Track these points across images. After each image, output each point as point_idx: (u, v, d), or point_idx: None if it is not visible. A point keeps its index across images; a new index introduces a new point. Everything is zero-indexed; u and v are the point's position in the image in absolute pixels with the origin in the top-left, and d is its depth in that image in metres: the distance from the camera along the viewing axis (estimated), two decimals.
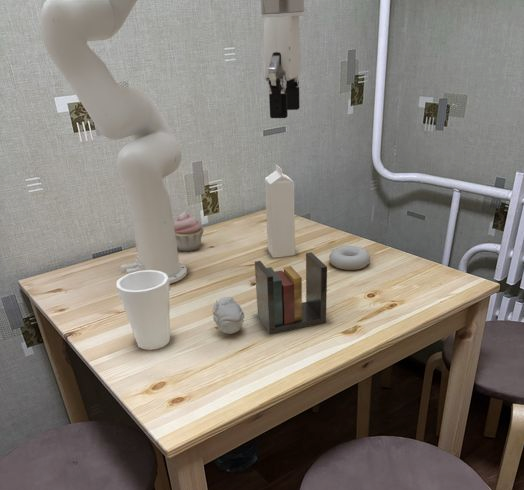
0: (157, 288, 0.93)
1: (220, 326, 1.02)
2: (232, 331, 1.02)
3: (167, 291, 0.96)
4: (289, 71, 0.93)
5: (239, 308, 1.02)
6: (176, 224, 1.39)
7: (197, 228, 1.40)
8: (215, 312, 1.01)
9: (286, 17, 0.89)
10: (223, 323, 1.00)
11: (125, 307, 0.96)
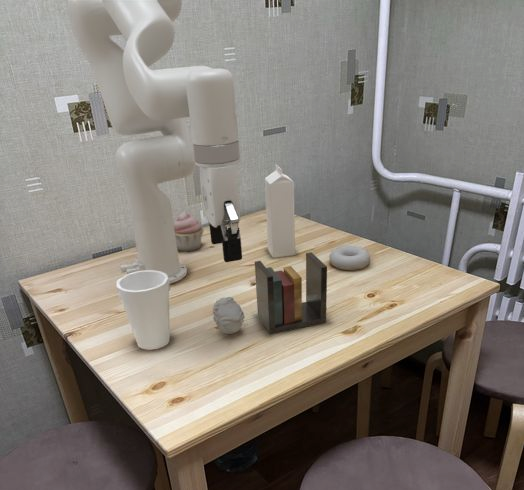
0: (157, 288, 0.93)
1: (220, 326, 1.02)
2: (232, 331, 1.02)
3: (167, 291, 0.96)
4: None
5: (239, 308, 1.02)
6: (176, 224, 1.39)
7: (197, 228, 1.40)
8: (215, 312, 1.01)
9: (233, 166, 0.85)
10: (223, 323, 1.00)
11: (125, 307, 0.96)
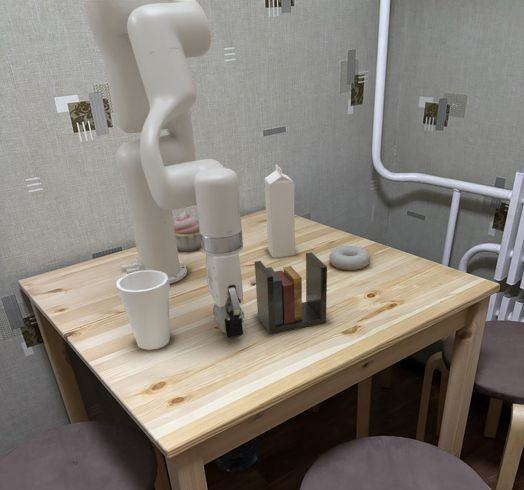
0: (157, 288, 0.93)
1: (220, 326, 1.02)
2: None
3: (167, 291, 0.96)
4: (242, 296, 0.97)
5: None
6: (176, 224, 1.39)
7: (197, 228, 1.40)
8: (215, 312, 1.01)
9: (237, 255, 0.93)
10: (223, 323, 1.00)
11: (125, 307, 0.96)
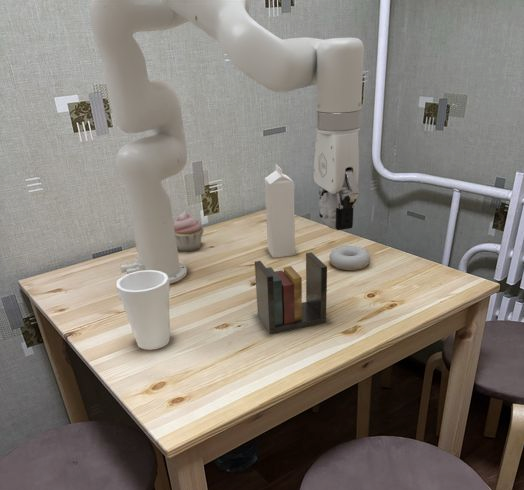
0: (157, 288, 0.93)
1: (328, 219, 0.97)
2: None
3: (167, 291, 0.96)
4: (357, 183, 0.92)
5: None
6: (176, 224, 1.39)
7: (197, 228, 1.40)
8: (323, 204, 0.97)
9: (356, 134, 0.88)
10: (333, 215, 0.96)
11: (125, 307, 0.96)
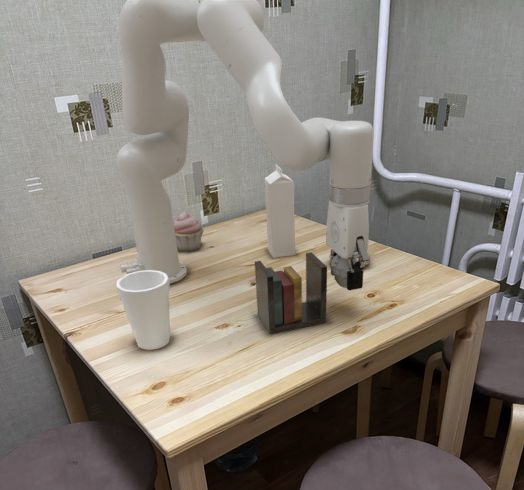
0: (157, 288, 0.93)
1: (339, 280, 1.05)
2: None
3: (167, 291, 0.96)
4: (367, 249, 1.00)
5: None
6: (176, 224, 1.39)
7: (197, 228, 1.40)
8: (335, 266, 1.04)
9: (367, 206, 0.95)
10: (344, 276, 1.03)
11: (125, 307, 0.96)
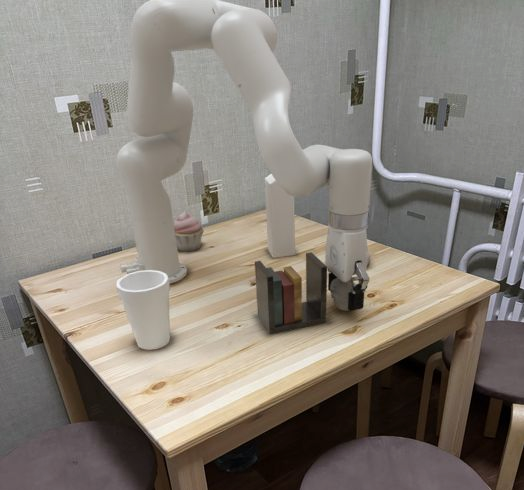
0: (157, 288, 0.93)
1: (338, 303, 1.07)
2: None
3: (167, 291, 0.96)
4: None
5: None
6: (176, 224, 1.39)
7: (197, 228, 1.40)
8: (334, 290, 1.07)
9: (365, 232, 0.98)
10: (343, 300, 1.06)
11: (125, 307, 0.96)
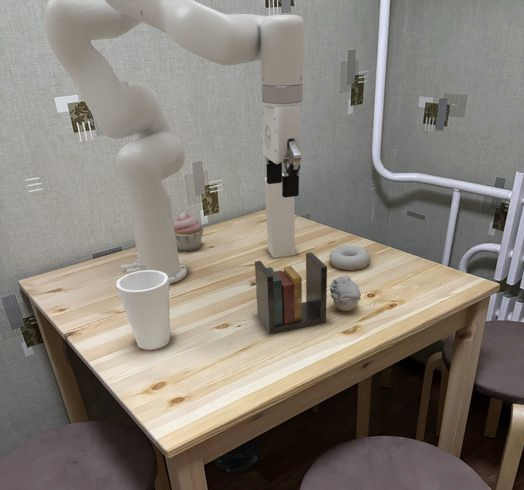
0: (157, 288, 0.93)
1: (338, 303, 1.07)
2: (350, 308, 1.08)
3: (167, 291, 0.96)
4: None
5: (357, 286, 1.07)
6: (176, 224, 1.39)
7: (197, 228, 1.40)
8: (334, 290, 1.07)
9: (298, 107, 0.94)
10: (343, 300, 1.06)
11: (125, 307, 0.96)
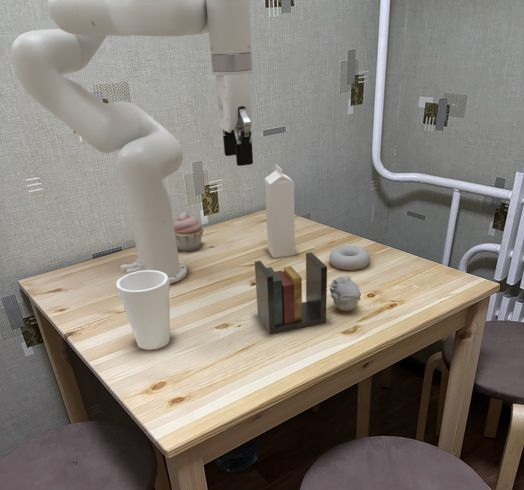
0: (157, 288, 0.93)
1: (338, 303, 1.07)
2: (350, 308, 1.08)
3: (167, 291, 0.96)
4: (251, 122, 1.00)
5: (357, 286, 1.07)
6: (176, 224, 1.39)
7: (197, 228, 1.40)
8: (334, 290, 1.07)
9: (246, 74, 0.96)
10: (343, 300, 1.06)
11: (125, 307, 0.96)
